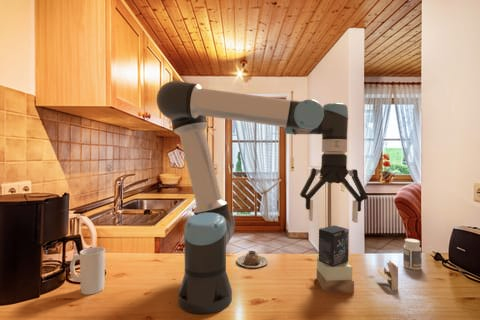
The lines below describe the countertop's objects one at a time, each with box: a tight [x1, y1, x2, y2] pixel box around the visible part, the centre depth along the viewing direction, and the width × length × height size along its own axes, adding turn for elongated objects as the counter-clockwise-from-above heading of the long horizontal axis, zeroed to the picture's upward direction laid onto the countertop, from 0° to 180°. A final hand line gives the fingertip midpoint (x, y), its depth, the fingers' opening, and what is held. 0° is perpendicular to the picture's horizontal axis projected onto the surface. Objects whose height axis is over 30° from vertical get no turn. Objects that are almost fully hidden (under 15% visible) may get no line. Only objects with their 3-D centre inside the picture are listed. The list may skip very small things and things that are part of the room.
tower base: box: [316, 269, 355, 293], centre depth 85 cm, size 9×9×4 cm
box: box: [318, 225, 350, 267], centre depth 85 cm, size 8×6×11 cm
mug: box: [69, 246, 106, 296], centre depth 82 cm, size 10×7×12 cm, turn 91°
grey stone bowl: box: [236, 250, 269, 269], centre depth 103 cm, size 12×12×5 cm
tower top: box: [316, 256, 353, 281], centre depth 85 cm, size 8×8×4 cm
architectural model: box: [376, 260, 399, 291], centre depth 85 cm, size 3×7×7 cm, turn 174°
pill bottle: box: [402, 238, 423, 271], centre depth 99 cm, size 6×6×10 cm
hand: (332, 220), depth 85 cm, fingers open, 13 cm apart
